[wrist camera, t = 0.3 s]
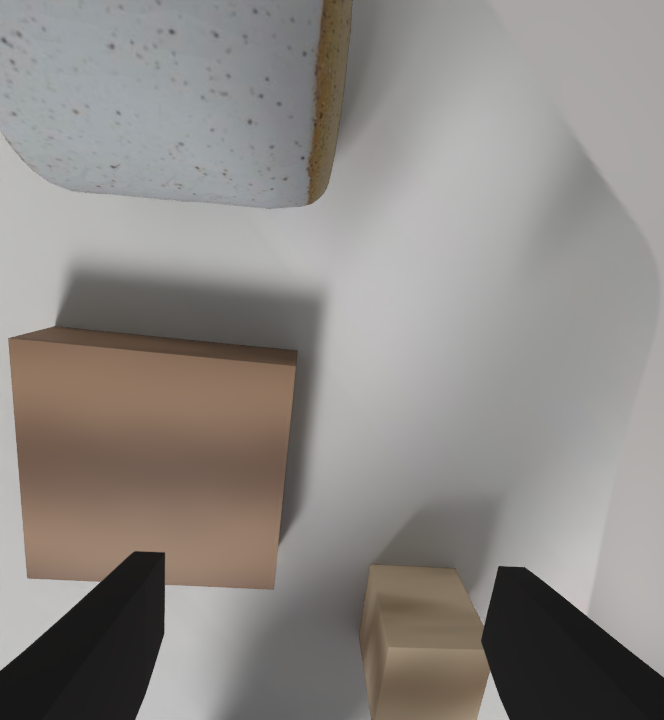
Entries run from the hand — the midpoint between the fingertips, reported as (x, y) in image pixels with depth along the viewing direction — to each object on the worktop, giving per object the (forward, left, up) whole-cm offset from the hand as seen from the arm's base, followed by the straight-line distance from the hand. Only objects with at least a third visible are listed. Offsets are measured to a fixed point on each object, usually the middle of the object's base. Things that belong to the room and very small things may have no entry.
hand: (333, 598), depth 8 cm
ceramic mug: (+13, +5, -10) cm, 18 cm away
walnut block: (-2, +6, -10) cm, 12 cm away
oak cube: (-10, -6, -10) cm, 15 cm away
